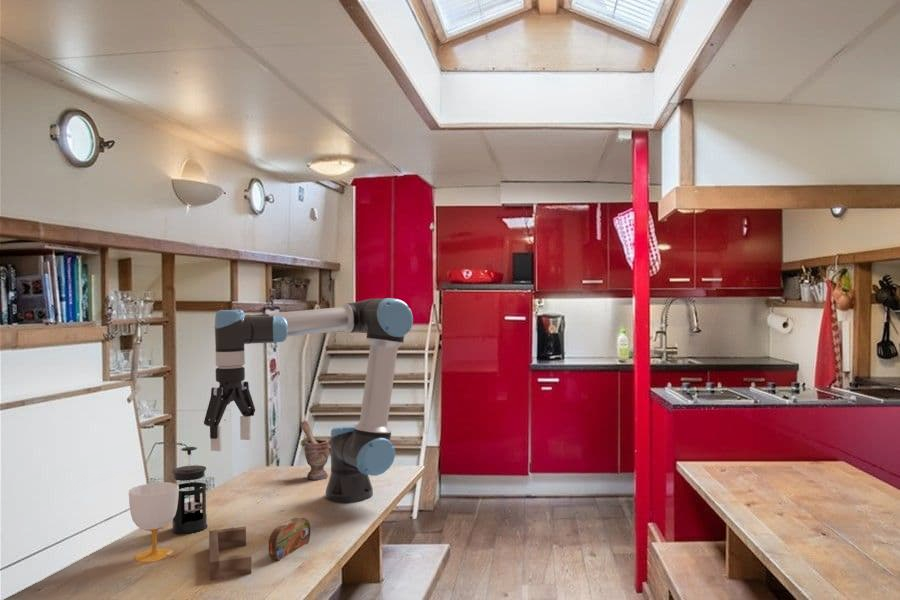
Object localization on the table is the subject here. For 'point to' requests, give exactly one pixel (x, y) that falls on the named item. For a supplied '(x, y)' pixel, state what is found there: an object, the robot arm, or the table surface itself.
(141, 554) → the cup
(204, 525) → the french press
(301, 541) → the tin
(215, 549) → the shelf
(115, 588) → the table surface
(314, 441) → the mortar and pestle
